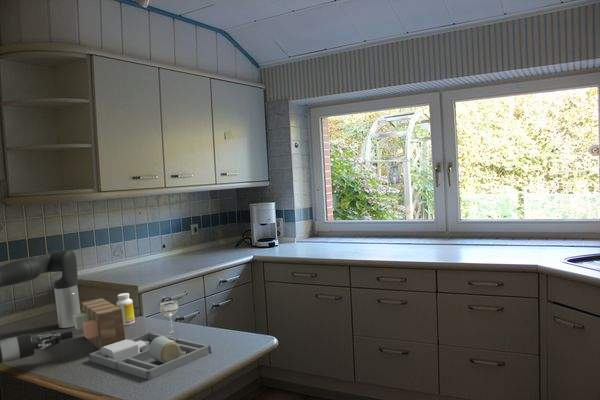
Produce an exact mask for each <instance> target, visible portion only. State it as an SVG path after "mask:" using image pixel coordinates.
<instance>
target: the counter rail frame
mask: <svg viewBox="0 0 600 400" xmlns="http://www.w3.org/2000/svg"><path fill="white" fill-rule="evenodd" d="M159 336H163V337H166V338H168V339H170V340H172V341H174V342H176V343H177V344H178V346H179V348H180V350H183V351H185V352H186V353H188V354H185V355H183V356H181V357H180V356H179V357H178V358H176V359H174V360H171V361H169V362H167V363H161V364H160V365H157V364H153V363H150V362H148V361H147V362H146V361H145V360H147V359H150V358H152V357H151V356H150V354H149V348H147V349H145V350H143V351H140V353H138V354H135V355H132V356H130V357H127V358H124V359H122V360H119V361H117V360H114V359H111V358H108V357H104V356H102V352H101V350H99V349H98V350H96V351H94V352H93V351H92V352H90V353H89V354H88V356H89V361H90V362H92V363H95V364H99V365H102V366H105V367H107V368H111V369H113V370H116V371H120V372H123V373H126V374H129V375H132V376H135V377H138V378H140V379H141V378H142V379H145V380H147V381H150V380H152V379H154V378H156V377H158V376H161V375H163V374H166V373H168V372H171V371H172V370H174V369H177V368H180V367H181V366H184V365H187V364H189V363H191V362H194V361H196V360H198V359H200V357H201V358H202V356H203V357H205V356H207V355H209V354H208V353H210V352H211V353H212V348H211V345H209V344H204V343H200V342H195V341H191V340H187V339H183V338H177V337H174V336H173V337H172V336H170V335H163V334H160V333H153V332H148V333H144V334H142V335H139V336H136V337H133V338H130V339H129V340H131V341H134V342H137V341H140V340H141V341H144V342H145V341H147V342H150V341H151V342H152V341H153V340H154V339H155V338H157V337H159ZM211 353H210V354H211ZM206 354H207V355H206ZM204 355H205V356H204ZM195 359H196V360H195Z"/></svg>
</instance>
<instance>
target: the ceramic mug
mask: <svg viewBox="0 0 600 400" xmlns="http://www.w3.org/2000/svg"><path fill="white" fill-rule="evenodd" d="M148 349H149V354H150V356H151V357H150V358H152V359H153V360H155V361H157V362H160V363H161V364H164V363H167V362H169V361H171V360H174V359H176V358H179V357H181V356H183V355H186V352H185V351H183V350H180V348H179V346H178V344H177V343H176V342H174V341H172V340H170V339H168V338H166V337H163V336H159V337H157V338H155V339H154V340H153V341H152V340H151V342H150V343H149V346H148Z"/></svg>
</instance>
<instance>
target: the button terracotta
mask: <svg viewBox="0 0 600 400" xmlns="http://www.w3.org/2000/svg"><path fill="white" fill-rule="evenodd" d="M82 324H83V329H82V330H83V337H84V338H85V339H87V340H88V339H89V338H93V337H97V336H99V330H98V322H97V321H96V320H91V321H87V322H83V323H82Z"/></svg>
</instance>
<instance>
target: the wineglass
mask: <svg viewBox="0 0 600 400" xmlns="http://www.w3.org/2000/svg"><path fill="white" fill-rule="evenodd" d="M159 305H160V308H159V309H160V313H161V314H163V315H164V317H165V316H166V317H168V318H169V324H170V330H171V331H169V333H171V332H174V331H175V330H173V321H172V318H173V316H174V315H175V314H177V312H178V311H179V304H178V300H166V301H162V302H160V303H159Z"/></svg>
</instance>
